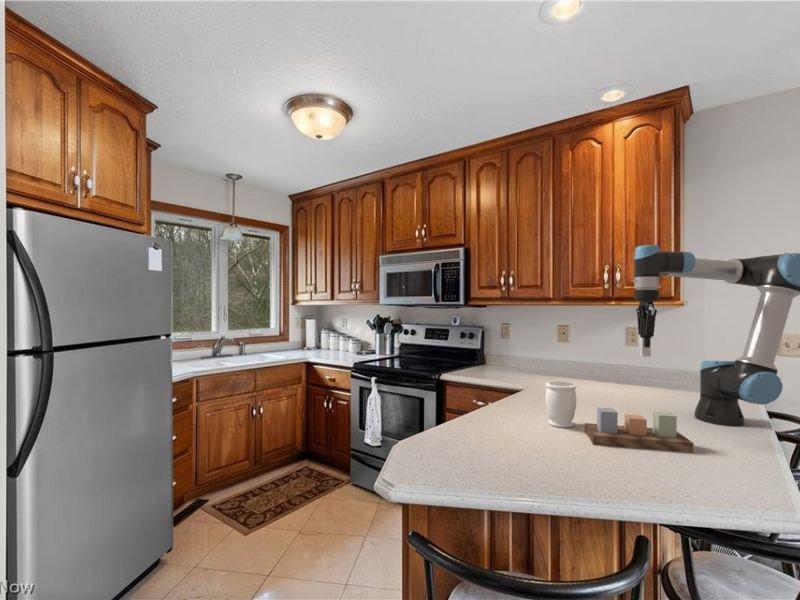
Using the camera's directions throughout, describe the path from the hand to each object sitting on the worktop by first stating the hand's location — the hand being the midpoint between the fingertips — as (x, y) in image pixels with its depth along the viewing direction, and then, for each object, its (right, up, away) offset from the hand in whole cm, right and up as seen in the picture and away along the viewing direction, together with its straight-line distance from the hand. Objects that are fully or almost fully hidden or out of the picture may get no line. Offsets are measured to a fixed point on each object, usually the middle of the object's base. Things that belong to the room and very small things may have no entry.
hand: (645, 356), depth 145 cm
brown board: (-10, -26, -11) cm, 30 cm away
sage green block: (-2, -24, -13) cm, 28 cm away
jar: (-28, -26, +6) cm, 39 cm away
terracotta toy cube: (-10, -26, -11) cm, 30 cm away
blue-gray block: (-18, -24, -9) cm, 32 cm away
